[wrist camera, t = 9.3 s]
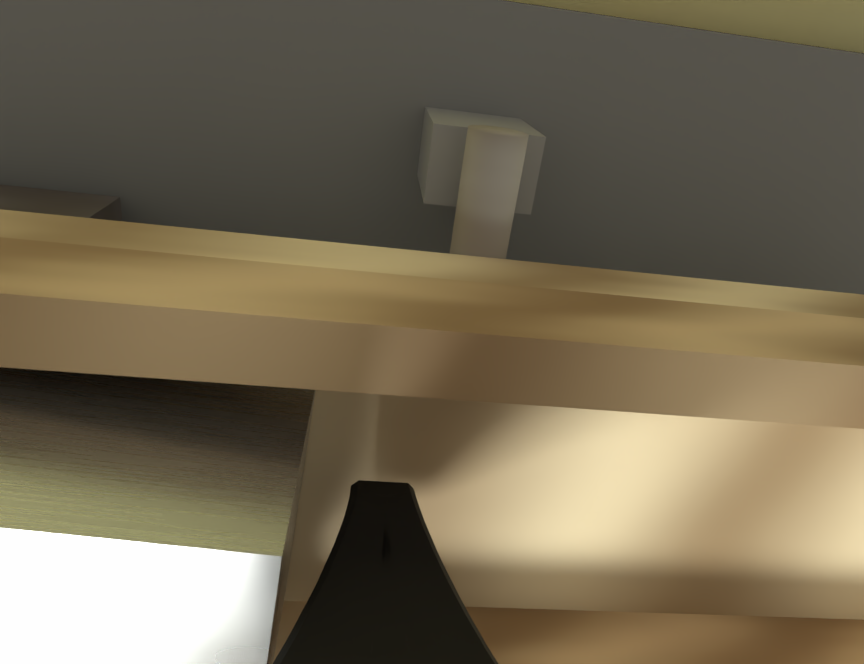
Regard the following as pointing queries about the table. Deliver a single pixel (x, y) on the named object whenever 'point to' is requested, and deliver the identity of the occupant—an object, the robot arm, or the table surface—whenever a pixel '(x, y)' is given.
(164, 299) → the balance beam
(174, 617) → the steel block
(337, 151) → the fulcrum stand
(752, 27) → the table surface
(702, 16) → the table surface
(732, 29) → the table surface
